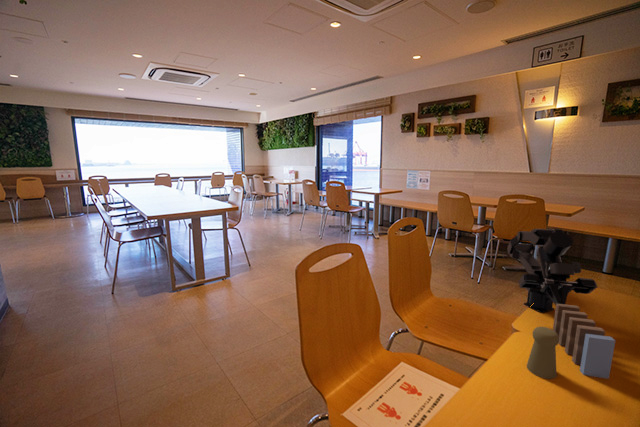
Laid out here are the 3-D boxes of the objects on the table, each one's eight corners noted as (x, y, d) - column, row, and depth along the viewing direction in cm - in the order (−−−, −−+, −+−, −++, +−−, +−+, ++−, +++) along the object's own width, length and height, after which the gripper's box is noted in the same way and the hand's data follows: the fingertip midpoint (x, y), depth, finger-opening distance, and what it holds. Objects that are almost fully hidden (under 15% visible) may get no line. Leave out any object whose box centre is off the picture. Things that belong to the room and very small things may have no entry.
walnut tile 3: (564, 351, 82) (569, 317, 80) (586, 354, 81) (592, 319, 79) (567, 354, 81) (572, 320, 79) (590, 357, 79) (595, 322, 77)
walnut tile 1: (552, 334, 90) (556, 303, 88) (572, 337, 88) (576, 305, 86) (554, 337, 88) (558, 306, 86) (575, 340, 87) (579, 308, 85)
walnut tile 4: (571, 360, 78) (577, 324, 77) (595, 363, 77) (601, 327, 75) (575, 364, 77) (580, 328, 75) (599, 367, 75) (605, 331, 74)
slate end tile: (579, 370, 75) (585, 333, 73) (604, 374, 73) (611, 336, 71) (583, 374, 73) (589, 337, 71) (608, 378, 72) (615, 340, 70)
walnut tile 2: (558, 342, 86) (562, 310, 84) (579, 345, 84) (584, 312, 83) (560, 345, 84) (565, 312, 83) (582, 348, 83) (587, 315, 81)
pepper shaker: (551, 365, 77) (556, 325, 75) (560, 381, 71) (567, 339, 69) (523, 360, 79) (527, 321, 77) (530, 376, 73) (536, 334, 71)
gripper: (525, 248, 94) (534, 297, 86) (598, 253, 89) (616, 305, 80) (515, 264, 103) (522, 309, 95) (581, 269, 98) (595, 318, 89)
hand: (562, 310), depth 90 cm, fingers closed
